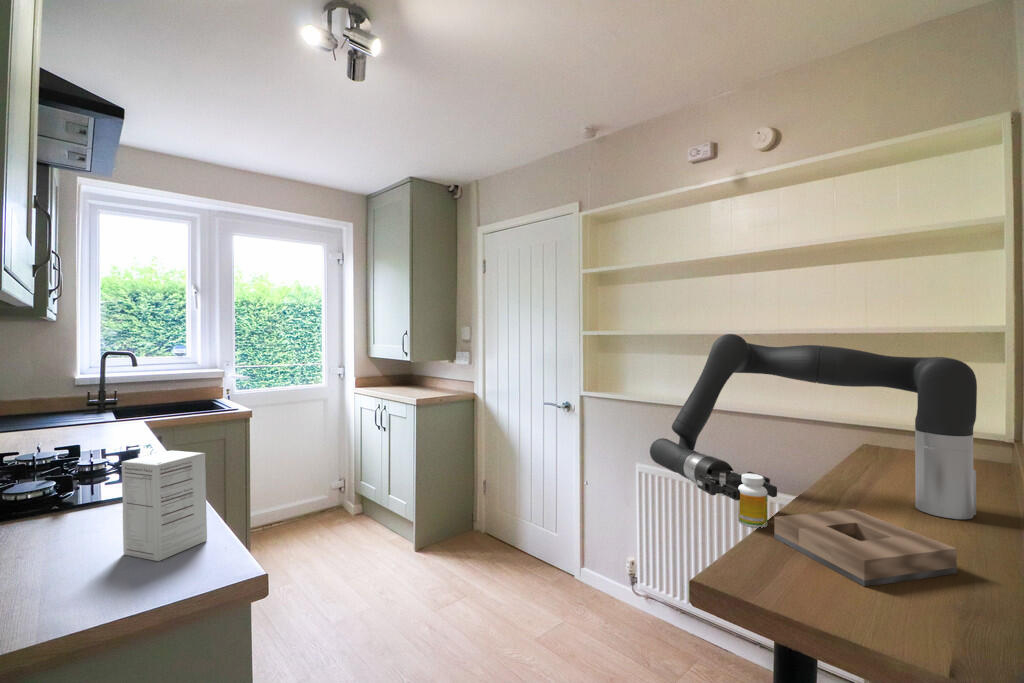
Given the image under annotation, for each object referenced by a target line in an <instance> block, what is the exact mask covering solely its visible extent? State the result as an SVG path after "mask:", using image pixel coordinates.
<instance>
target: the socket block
mask: <svg viewBox="0 0 1024 683" xmlns="http://www.w3.org/2000/svg"><path fill="white" fill-rule="evenodd" d="M773 524H774V530H773V531H774V537H773V538H774V539H775V540H778V541H779V542H781V543H782V544H784V543H785V545H786V544H787V545H786V546H788V545H789V546H788V547H790V548H792V549H794V550H795V551H796V552H799V553H801V554H803V555H805V556H807V557H809V559H810V558H811V559H813V560H814V561H816V562H818V563H820V564H822V565H824V566H825V567H827V568H828V569H831V570H832V571H834V572H837V573H838V574H840V575H842V576H844V578H847V579H849V580H851V581H853V582H854V581H855V583H856V582H857V583H856V584H858V583H859V585H860V584H861V585H860V586H862V585H863V586H862V587H864V586H867V587H871V586H870V585H874V586H879V585H885V584H894V583H901V582H909V581H915V580H920V579H927V578H934V577H942V576H949V575H955V574H957V570H958V568H957V566H958V565H957V562H958V561H957V560H958V555H957V552H958V551H957V549H958V548H956V547H954V546H951V545H948V544H946V543H944V542H941V541H938V540H935V539H933V538H930V537H928V536H925V535H922V534H920V533H917V532H915V531H912V530H909V529H907V528H903V527H901V526H900V525H896V524H893V523H891V522H888V521H885V520H883V519H880V518H878V517H875V516H872V515H870V514H868V513H865V512H863V511H859V510H857V509H854V508H850V509H848V508H847V509H840V510H830V511H820V512H819V511H818V512H809V513H800V514H799V513H798V514H790V515H780V516H779V515H778V516H774V523H773Z"/></svg>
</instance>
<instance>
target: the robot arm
mask: <svg viewBox="0 0 1024 683" xmlns="http://www.w3.org/2000/svg"><path fill="white" fill-rule="evenodd" d="M733 374H756V375H757V374H758V375H769V376H770V375H772V376H777V377H781V378H785V379H791V380H794V381H795V380H796V381H801V382H802V381H803V382H808V383H813V384H821V385H827V386H828V385H829V386H836V387H837V386H838V387H853V388H858V387H859V388H860V387H863V388H864V387H871V388H872V387H875V388H876V387H877V388H878V387H879V388H880V387H881V388H889V389H895V390H900V391H906V392H910V393H914V394H917V409H916V415H915V418H914V423H915V424H914V429H915V430H914V431H915V432H914V435H915V436H914V437H915V438H914V441H915V444H914V448H915V449H914V450H915V451H914V452H915V453H914V454H915V455H914V457H915V460H914V461H915V462H914V463H915V464H914V465H915V466H914V467H915V469H914V470H915V471H914V472H915V473H914V474H915V481H914V482H915V490H914V491H915V495H914V496H915V499H914V500H915V509H917V510H918V511H921V512H922V513H926V514H928V515H932V516H934V517H935V516H936V517H941V518H946V519H951V520H952V519H953V520H971V519H973V518H974V516H975V515H977V470H975V469H974V426H975V423H976V420H977V406H978V404H977V400H978V399H977V398H978V397H977V396H978V384H977V382H978V381H977V377H976V374H975V372H974V370H973V369H972V368H971V367H970V366H969V365H968V364H967V363H965V362H963V361H962V360H959V359H956V358H951V357H945V356H932V357H929V356H926V357H925V356H923V357H921V356H920V357H919V356H918V357H917V356H916V357H914V356H911V357H909V356H894V355H893V356H891V355H884V354H878V353H873V352H868V351H863V350H860V349H859V350H858V349H855V348H848V347H847V348H845V347H842V346H841V347H840V346H832V345H831V346H830V345H829V346H828V345H818V344H817V345H816V344H805V345H803V344H801V345H791V346H790V345H789V346H767V345H761V344H756V343H755V344H754V343H750V342H747V341H746V340H745V339H744V338H743V337H742V336H740V335H738V334H734V333H726V334H724V335H720V337H717V339H715V340H714V342H713V344H712V346H711V349H710V352H709V354H708V357H707V360H706V362H705V365H704V367H703V369H702V371H701V374H700V376H699V378H698V380H697V382H696V384H695V385H694V387H693V389H692V391H691V393H690V394H689V396H688V397H687V399H686V401H685V403H684V404H683V406H681V407H682V408H680V411H679V412H678V414H677V416H676V417H675V419H674V420H673V421H672V425H671V429H672V431H673V432H674V433H675V434H676V435H677V436H678V438H679V440H678V441H679V442H678V443H676V442H674V441H672V440H670V439H668V438H664V437H662V438H658V439H655V441H653V442H652V443H651V445H650V447H649V455H650V458H651V460H652V461H653V462H654V463H655V464H657V465H659V466H661V467H663V468H665V469H667V470H669V471H671V472H673V473H676V474H679V475H680V476H682V477H683V478H686V479H687V480H689V481H691V482H692V483H693V484H695V485H697V488H698V489H699V490H702V491H703V492H705V493H707V494H708V495H710V496H716V495H717V494H719V496H723V497H724V496H726V497H727V498H730V499H731V500H734V501H738V500H740V490H739V489H738V487H739V486H740V485H741V484H743V483H742V480H741V479H742V474H743V473H742V472H741V473H740V472H739V471H735V470H734V469H733V467H732V465H730V464H729V463H728V462H727V461H726V460H722V459H719V458H717V457H714V456H712V455H709V454H706V453H701V452H699V451H695V448H696V444H697V440H698V437H699V436H700V433H701V432H702V431H703V429H704V427H705V425H706V424H707V423H708V420H709V419H710V417H711V415H712V413H713V410H714V408H715V405H716V402H718V399H719V396H720V394H721V392H722V390H723V388H724V386H725V385H726V384H727V382H728V381H729V379H730V377H731V376H732V375H733ZM746 474H757V475H760V476H762V477H763V480H764V483H763V485H762V486H763V487H764V488H766V490H767V496H769V497H771V498H777V497H778V487H777V486H776V485H773V484H771V478H769V477H767V476H764V475H761V474H758V473H755V472H753V471H747V472H746Z"/></svg>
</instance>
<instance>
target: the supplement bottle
mask: <svg viewBox="0 0 1024 683" xmlns="http://www.w3.org/2000/svg"><path fill="white" fill-rule="evenodd" d="M757 474H758V473H756V474H747V473H742V479H741V480H742V483H743V484H741V485H740V486H739V487H738V489H739V490H740V500H737V521H738V523H739V524H741V525H742V526H745V527H748V528H752V529H764V528H767V526H768V522H769V521H768V520H769V519H768V518H769V517H768V513H769V512H768V511H769V510H768V495H767V490H766V488H764V487H763V486H762V485H763V483H764V480H763V477H762V476H763V475H761V474H759V475H757ZM760 475H761V476H760ZM767 521H768V522H767ZM766 522H767V523H766ZM764 523H766V524H765V525H763V524H764ZM762 525H763V526H762ZM760 526H762V527H761V528H759V527H760ZM763 527H764V528H763Z"/></svg>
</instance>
